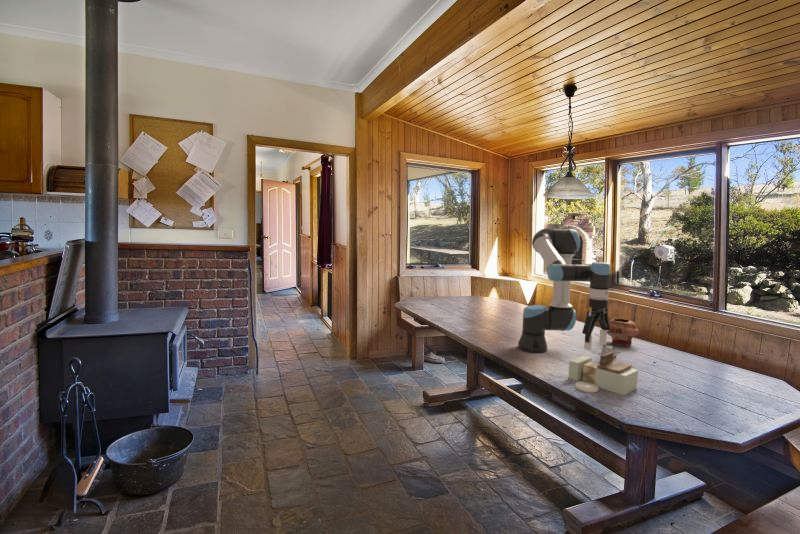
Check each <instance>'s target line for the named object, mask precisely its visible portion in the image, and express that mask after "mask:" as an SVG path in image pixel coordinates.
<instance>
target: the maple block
mask: <svg viewBox="0 0 800 534" xmlns="http://www.w3.org/2000/svg"><path fill="white" fill-rule="evenodd" d="M599 364H600V363H595V362H592V361H591V362H589V363H587V364H584V367H583V378H582V381H583V382H590V383H593V384H595V380H596V368H597V365H599Z"/></svg>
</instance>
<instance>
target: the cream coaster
mask: <svg viewBox="0 0 800 534" xmlns="http://www.w3.org/2000/svg"><path fill="white" fill-rule="evenodd" d="M575 389H576V390H578V391H580V392H583V393H587V394H588V393H589V394H592V393H593V394H595V393H597V392H599V389H600V388H599V386H597V385H596V384H594V383H591V382H587V381H576V383H575Z"/></svg>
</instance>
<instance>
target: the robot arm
mask: <svg viewBox="0 0 800 534" xmlns="http://www.w3.org/2000/svg"><path fill="white" fill-rule="evenodd" d="M531 246H532V248H533V249H534V251H535V252H536V253H538V254H539V255H540V256H541V258H542V259H543V262H544V264H546V266H547V273H546V275H547V278H548V279H549V281H552V283H553V284H552V286H553V287H552V301H551V303H549V304H548V307H547V306H546V305H543V304H533V305H528V306H525V307H524V308H523V310H522V311H523V313H522V329H521V331H522V332H521V335H520V338H519V340H518V343H517V348H518V350H520V351H523V352H527V353H535V354H536V353H537V354H539V353H540V354H541V353H546V352H548V344H547V339H546V336H545V335H546V334H545V333H546V331H561V332H564V331H571V330H573V328H574V327H575V324H576V321H577V313H576V310H575V309H574V308H573V305H572V304H571V303H570V300H571V299H570V298H571V296H570V295H571V282H585V283H586V282H588V283H589V293H588V297H589V299H588V307H589V308H591V310H587V312H586V313H587V314H586V318H585V321H584V324H583V328H582V332H581V333H582V334H583V335H584V348H583V349H584V350H586V351H592V344H593V331H594V329H595V326H596V324H597V323H599V326H600V329H599V340H598V344H599V345H604V346H607V336H608V334H607V331H609V330H610V323H609V321H610V320H609V319H610V318H609V314H608V313H609V308H608V307H609V300H608V299H609V294H610V291H609V289H610V279H611V278H610V277H611V264H610V263H609V262H604V261H593V262H592V263H585V264H572V263H573V257H574V256H575V255H576V252H578V251H579V250H580V247H581V238H580V235H579V232H578V231H577V230H576V229H573V228H555V227H554V228H551V227H550V228H547V227H546V228H543V229H540V230H539V231H537V232H536V233H535V234H534V235H533V236H532V240H531Z"/></svg>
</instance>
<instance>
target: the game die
mask: <svg viewBox="0 0 800 534" xmlns="http://www.w3.org/2000/svg"><path fill="white" fill-rule="evenodd" d="M608 352H614V354H613V360H614V361H616V359H617V356H618V354H619V353H621V352H620V351H617V350H616V349H615V347H614V346H613V343H611V344H610V345H603V348H602V349H601V352H600V353H598V355H600V356H601V355H603V354H606V353H608Z"/></svg>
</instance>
